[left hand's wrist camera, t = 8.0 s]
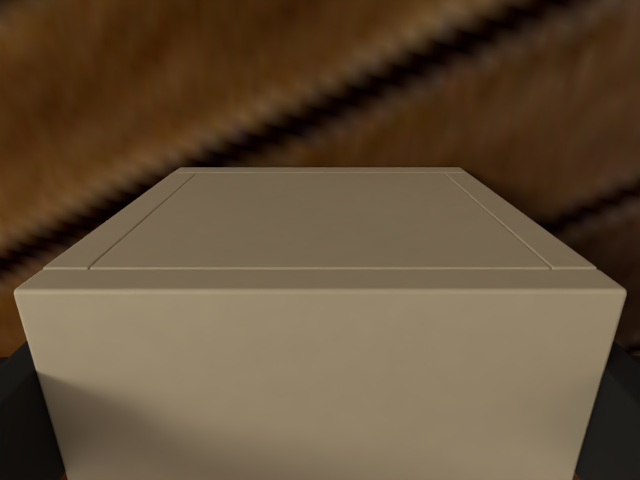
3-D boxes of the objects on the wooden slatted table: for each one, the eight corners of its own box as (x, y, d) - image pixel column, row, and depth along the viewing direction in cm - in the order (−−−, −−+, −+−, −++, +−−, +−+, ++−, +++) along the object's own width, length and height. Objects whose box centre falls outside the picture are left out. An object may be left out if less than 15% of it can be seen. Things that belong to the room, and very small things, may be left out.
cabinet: (423, 476, 23) (493, 753, 14) (216, 476, 23) (146, 753, 14) (460, 166, 17) (630, 289, 8) (179, 167, 17) (10, 290, 8)
